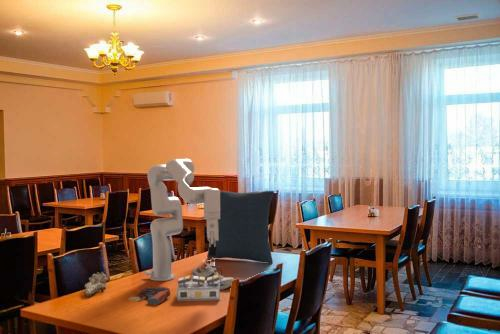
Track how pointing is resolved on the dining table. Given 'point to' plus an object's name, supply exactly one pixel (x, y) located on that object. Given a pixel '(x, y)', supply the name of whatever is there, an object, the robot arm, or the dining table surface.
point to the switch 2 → (198, 279)
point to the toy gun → (153, 295)
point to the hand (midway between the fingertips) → (212, 255)
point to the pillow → (244, 226)
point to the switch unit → (198, 291)
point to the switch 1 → (184, 279)
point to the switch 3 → (212, 279)
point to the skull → (96, 283)
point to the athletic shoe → (211, 272)
